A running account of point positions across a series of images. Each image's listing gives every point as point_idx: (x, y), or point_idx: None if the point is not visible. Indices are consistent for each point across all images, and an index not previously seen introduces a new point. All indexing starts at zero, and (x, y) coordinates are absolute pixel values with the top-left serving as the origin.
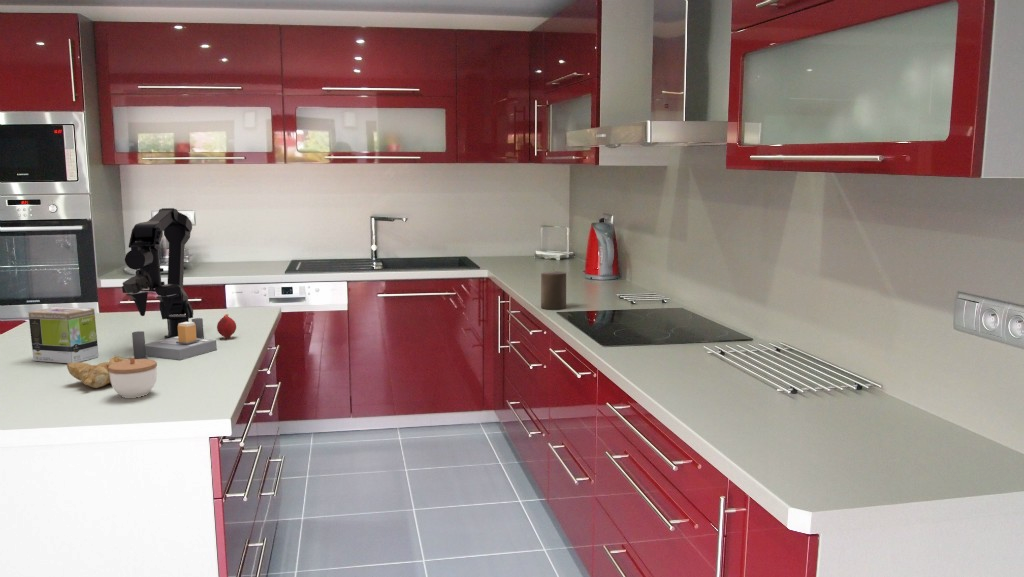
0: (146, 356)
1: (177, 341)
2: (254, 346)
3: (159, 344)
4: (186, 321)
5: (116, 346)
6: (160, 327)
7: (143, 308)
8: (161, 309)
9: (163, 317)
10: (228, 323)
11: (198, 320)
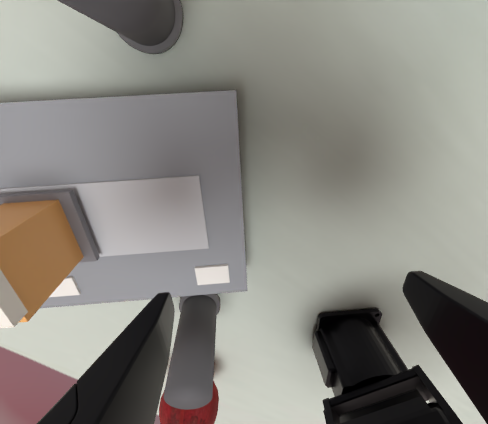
0: (139, 48)
1: (71, 200)
2: (20, 347)
3: (158, 153)
4: (334, 388)
5: (467, 161)
6: None
7: (452, 340)
8: (128, 357)
9: (157, 294)
10: (162, 419)
11: (165, 389)
